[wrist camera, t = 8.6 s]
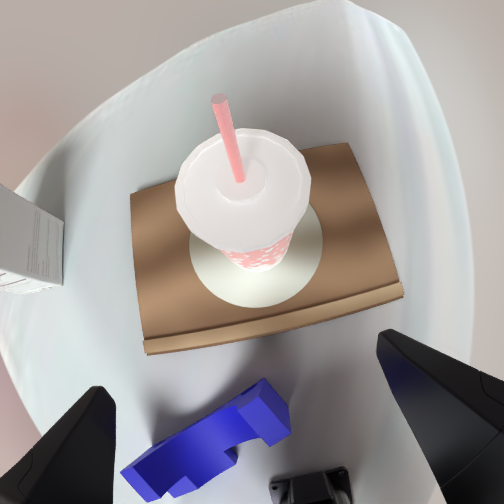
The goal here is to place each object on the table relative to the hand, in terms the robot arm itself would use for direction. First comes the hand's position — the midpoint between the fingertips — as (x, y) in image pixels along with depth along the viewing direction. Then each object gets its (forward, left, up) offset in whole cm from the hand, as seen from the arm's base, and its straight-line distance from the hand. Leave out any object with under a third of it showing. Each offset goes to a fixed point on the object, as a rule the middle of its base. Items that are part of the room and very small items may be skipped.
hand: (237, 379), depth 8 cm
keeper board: (+8, -1, -13) cm, 15 cm away
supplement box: (+12, +22, -13) cm, 28 cm away
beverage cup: (+8, -1, -12) cm, 14 cm away
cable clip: (-7, +5, -13) cm, 16 cm away
